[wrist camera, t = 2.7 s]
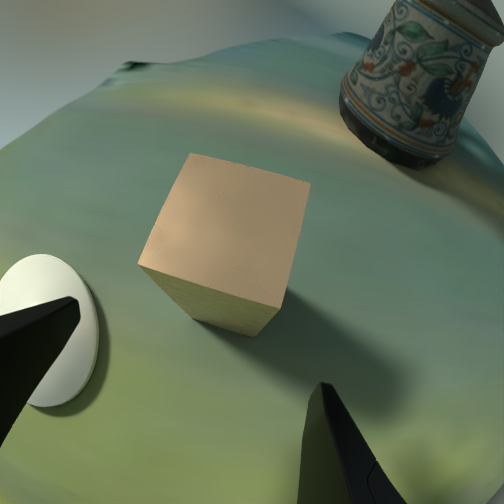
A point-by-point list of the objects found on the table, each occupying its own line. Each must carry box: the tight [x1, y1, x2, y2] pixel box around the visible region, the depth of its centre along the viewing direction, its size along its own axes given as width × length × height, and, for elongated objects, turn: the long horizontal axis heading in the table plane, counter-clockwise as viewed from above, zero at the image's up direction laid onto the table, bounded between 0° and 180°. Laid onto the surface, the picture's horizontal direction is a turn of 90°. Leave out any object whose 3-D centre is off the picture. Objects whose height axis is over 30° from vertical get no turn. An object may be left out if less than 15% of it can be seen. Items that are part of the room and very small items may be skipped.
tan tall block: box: [138, 153, 311, 337], centre depth 16 cm, size 5×5×13 cm
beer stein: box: [339, 0, 504, 171], centre depth 20 cm, size 16×19×25 cm
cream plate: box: [0, 254, 99, 407], centre depth 19 cm, size 14×14×1 cm
